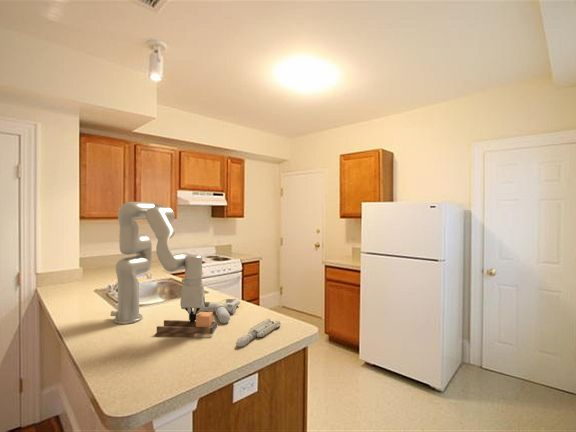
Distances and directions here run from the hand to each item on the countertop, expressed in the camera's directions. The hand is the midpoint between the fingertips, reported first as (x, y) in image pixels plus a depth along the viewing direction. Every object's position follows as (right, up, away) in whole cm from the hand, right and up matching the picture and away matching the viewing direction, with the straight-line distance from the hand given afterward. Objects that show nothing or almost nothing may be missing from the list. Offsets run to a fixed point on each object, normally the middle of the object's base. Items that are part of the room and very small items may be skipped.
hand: (192, 321), depth 141 cm
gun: (+2, -5, +26) cm, 27 cm away
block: (+5, -4, 0) cm, 6 cm away
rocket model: (+30, -6, -3) cm, 31 cm away
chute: (-2, -5, 0) cm, 5 cm away
